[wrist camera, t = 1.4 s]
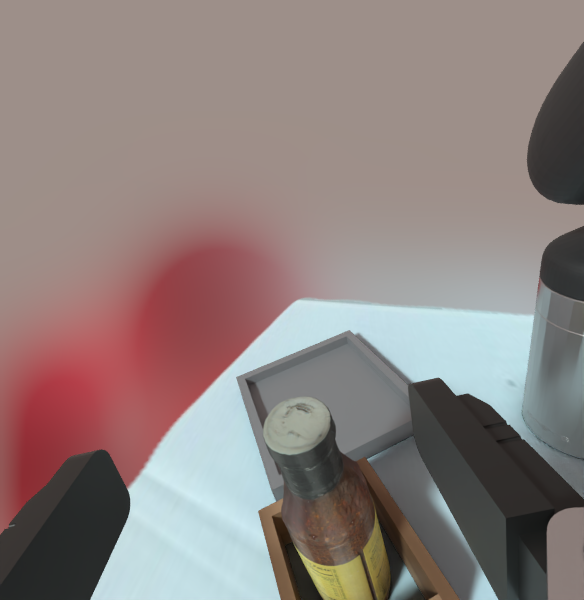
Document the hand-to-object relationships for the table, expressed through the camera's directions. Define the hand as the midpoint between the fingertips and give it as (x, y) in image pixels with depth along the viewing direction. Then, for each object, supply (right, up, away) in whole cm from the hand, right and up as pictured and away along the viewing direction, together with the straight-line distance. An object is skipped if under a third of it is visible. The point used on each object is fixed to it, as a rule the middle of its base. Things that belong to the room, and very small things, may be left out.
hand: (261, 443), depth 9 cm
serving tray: (+5, -11, +37) cm, 38 cm away
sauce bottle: (+6, -20, +19) cm, 28 cm away
